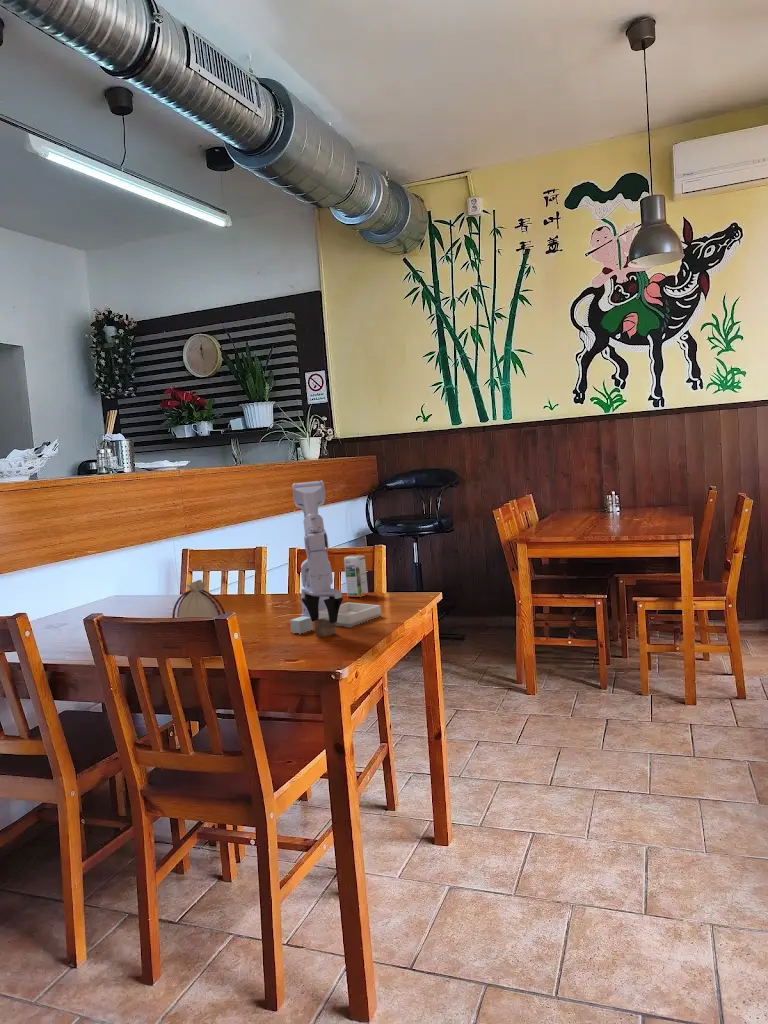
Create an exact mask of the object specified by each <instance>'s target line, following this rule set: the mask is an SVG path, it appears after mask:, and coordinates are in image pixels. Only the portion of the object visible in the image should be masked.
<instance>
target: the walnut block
mask: <svg viewBox="0 0 768 1024" xmlns="http://www.w3.org/2000/svg"><path fill="white" fill-rule="evenodd" d="M313 622H314V632H315V637H320V636H323V637H322V638H327V637H326V636H328V637H330V636H329V635H331V636H333V635H335V634H336V626H335V624H334V623H332V624H331V623H330V621H329V618H325V617H324V618H321V619H318V620H315V621H313ZM332 634H333V635H332Z"/></svg>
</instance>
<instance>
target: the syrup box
mask: <svg viewBox="0 0 768 1024" xmlns="http://www.w3.org/2000/svg"><path fill="white" fill-rule="evenodd" d="M343 564H344V573H345V575H344V576H345V582H346V585H345V586H346V595H347V596H354V595H355V596H359V595H362V593H368V594H369V589H368V580H367V579H368V577H367V568H366V567H367V566H366V558H365V555H348V556H344V558H343ZM351 594H352V595H351Z"/></svg>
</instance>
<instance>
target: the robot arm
mask: <svg viewBox="0 0 768 1024" xmlns="http://www.w3.org/2000/svg"><path fill="white" fill-rule="evenodd" d="M291 486H292V495H293V497H292V498H293V502H294V506H295V507H296V508H299V509H301V511H302V512H303V513H302V514H303V517H304V518H303V530H304V537H303V539H304V542H303V543H304V549H305V553H306V557H307V558H306V559H305V560H304V561H302V563H301V565H300V574H301V584H302V587H303V588H302V589H301V593H300V602H301V603H300V604H301V610H302V612H301V613H300V617H301V616H306V617H311V620H312V622H314V621H315V620H318V619H319V611H321V610H325V609H327V610H328V615H329V621H330V623H331V624H332V623H336V622H337V617H338V611H339V608H340V605H341V604H342V602H343V600H344V599H343V593H342V590H339V589H335V588H332V584H333V582H334V580H333V579H334V578H333V570H332V565H331V561H330V560H329V555H328V552H329V539H328V538H329V537H328V534H327V531H326V529H325V525H324V524H325V523H324V518H323V517H322V515H319V507H321V506H323V505H324V503H325V501H326V489H325V483H324V481H323V480H322V479H321V480H320V481H319V480H316V481H307V482H306V481H305V482H293V484H292V485H291Z"/></svg>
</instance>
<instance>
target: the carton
mask: <svg viewBox="0 0 768 1024" xmlns="http://www.w3.org/2000/svg"><path fill="white" fill-rule="evenodd" d="M289 622H290V633H291V632H292V633H291V634H295V633H299V634H298V635H302V634H301V633H303V634H305V633H304V632H306V633H308V632H307V631H309V632H311V631H310V630H312V631H313V630H314V628H313V626H314V625H313V621H312V620H311V617H309V616H301V615H300V616H299V617H296V618H292V619H290V620H289Z"/></svg>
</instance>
